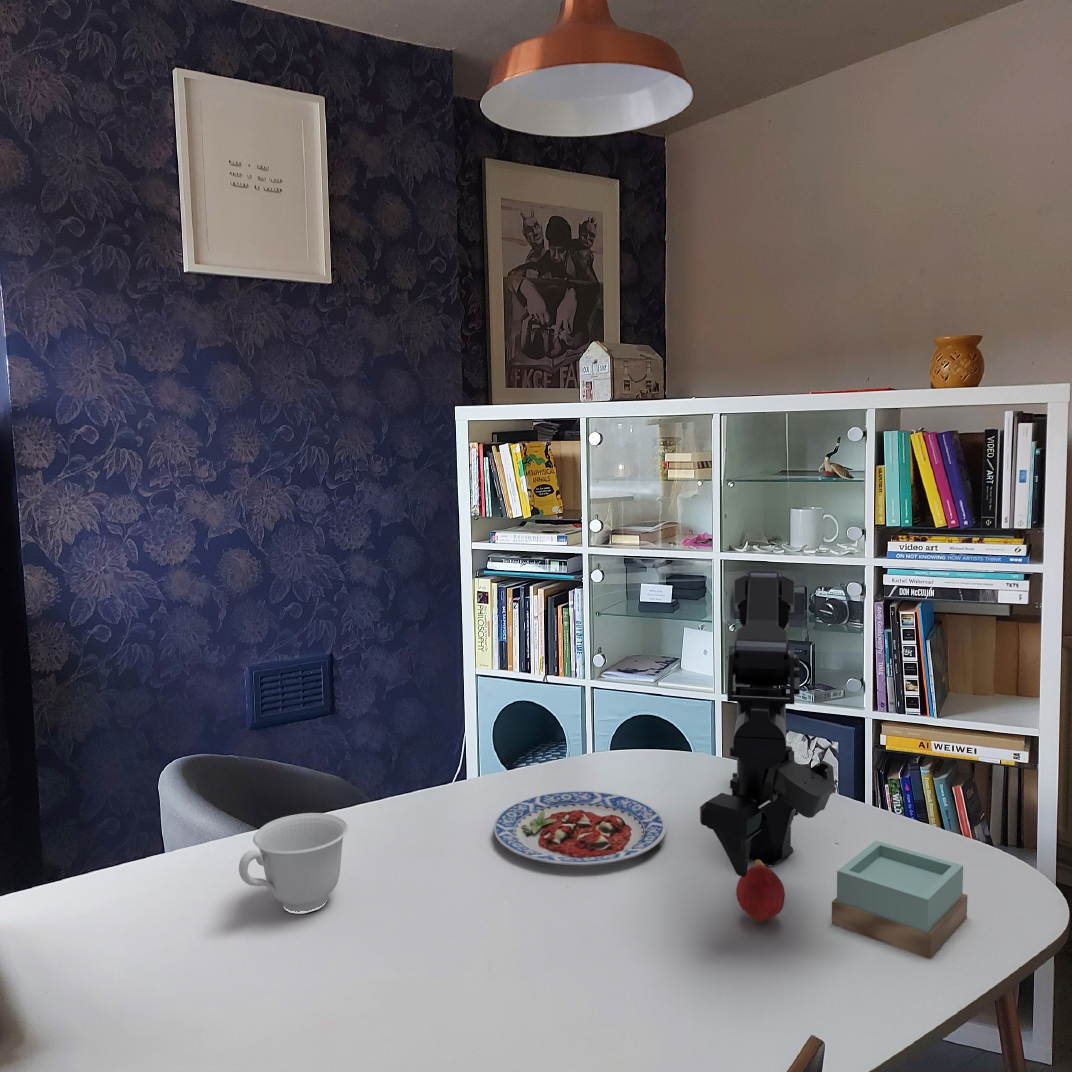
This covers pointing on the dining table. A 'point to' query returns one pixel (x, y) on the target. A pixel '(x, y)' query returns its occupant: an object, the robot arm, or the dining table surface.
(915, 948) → the bottom block
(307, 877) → the teacup
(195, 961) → the dining table surface
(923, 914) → the top block
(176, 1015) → the dining table surface
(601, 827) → the ceramic plate
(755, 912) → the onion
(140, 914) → the dining table surface
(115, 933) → the dining table surface
